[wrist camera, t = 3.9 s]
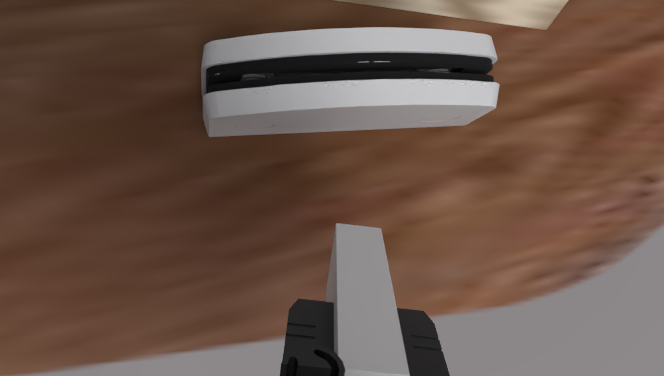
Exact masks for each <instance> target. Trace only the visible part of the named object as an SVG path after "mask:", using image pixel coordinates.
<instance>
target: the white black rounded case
mask: <svg viewBox="0 0 664 376" xmlns="http://www.w3.org/2000/svg"><path fill="white" fill-rule="evenodd" d="M496 61H497V55H496V52H495V48H494V45H493V41H492V38H491V36H489V35H487V34H480V33H472V32H464V31H453V30H442V29H422V28H395V27H367V28H336V29H316V30H302V31H290V32H278V33H267V34H259V35H251V36H242V37H235V38H228V39H222V40H215V41H211V42H209V43H207V44H205V45H204V51H203V58H202V65H201V90H202V97H203V120H204V124H205V127H206V131H207V134H208V137H221V136H242V135H264V134H286V133H308V132H330V131H351V130H373V129H395V128H417V127H438V126H460V125H467V124H468V123H470V122H472V121H474V120H475V119H477V118H479V117H481V116H482V115H484V114H486V113H488V112H489V111H491V110H493V109H495V108H496V104H497V98H498V91H499V84H498V83H496V82H494V80H493V76H491V75H486V74H487V73H488V72H490V71H491V70H492V68H493V66H492V64H494V63H495V62H496Z"/></svg>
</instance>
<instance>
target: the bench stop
mask: <svg viewBox="0 0 664 376" xmlns="http://www.w3.org/2000/svg"><path fill="white" fill-rule="evenodd" d="M335 1H342V2H349V3H356V4H363V5H370V6H378V7H385V8H392V9H399V10H406V11H414V12H421V13H428V14H435V15H442V16H449V17H457V18H464V19H471V20H478V21H485V22H492V23H500V24H507V25H514V26H521V27H528V28H536V29H543V30H547V28H548V27H549V26H550V24H551V23H552V22H553V20H554V19H555V18H556V16H557V15H558V14H559V12H560V11H561V10H562V8H563V7H564V6H565V4H566V3H567V2H568V0H335Z"/></svg>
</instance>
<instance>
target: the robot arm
mask: <svg viewBox="0 0 664 376" xmlns="http://www.w3.org/2000/svg"><path fill="white" fill-rule="evenodd" d="M441 349H442V348H441V345H440V341H439V340H438V335H437V331H436V328H435V325H434V323H433V322H432V320H431V319H430V318H429V317H428V316H427V315H426V313H425V312H424V311H419V310H409V309H400V308H397V307H396V302H395V297H394V292H393V287H392V282H391V277H390V271H389V266H388V261H387V256H386V251H385V246H384V241H383V236H382V231H381V228H374V227H366V226H357V225H348V224H340V223H336V228H335V234H334V241H333V248H332V255H331V261H330V268H329V275H328V282H327V288H326V302H324V301H314V300H305V299H298V300H297V301H296V302H295V303H294V304H293V306H292V307H291V308H290V309H289V315H288V323H287V331H286V338H285V347H284V354H283V361H282V363H281V371H280V376H449V372H448V368H447V365H446V362H445V359H444V355H443V352H442V351H441Z"/></svg>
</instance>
